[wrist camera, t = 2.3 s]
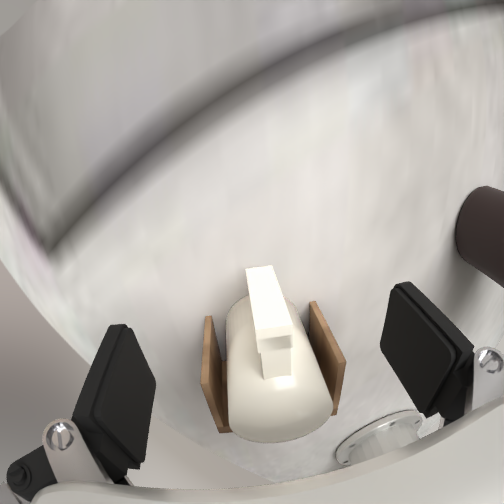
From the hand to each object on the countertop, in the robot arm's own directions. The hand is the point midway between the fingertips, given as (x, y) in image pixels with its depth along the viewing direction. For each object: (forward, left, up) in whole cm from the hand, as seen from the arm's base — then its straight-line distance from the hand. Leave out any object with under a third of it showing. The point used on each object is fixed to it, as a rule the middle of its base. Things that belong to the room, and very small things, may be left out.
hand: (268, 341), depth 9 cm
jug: (-4, 0, -8) cm, 9 cm away
